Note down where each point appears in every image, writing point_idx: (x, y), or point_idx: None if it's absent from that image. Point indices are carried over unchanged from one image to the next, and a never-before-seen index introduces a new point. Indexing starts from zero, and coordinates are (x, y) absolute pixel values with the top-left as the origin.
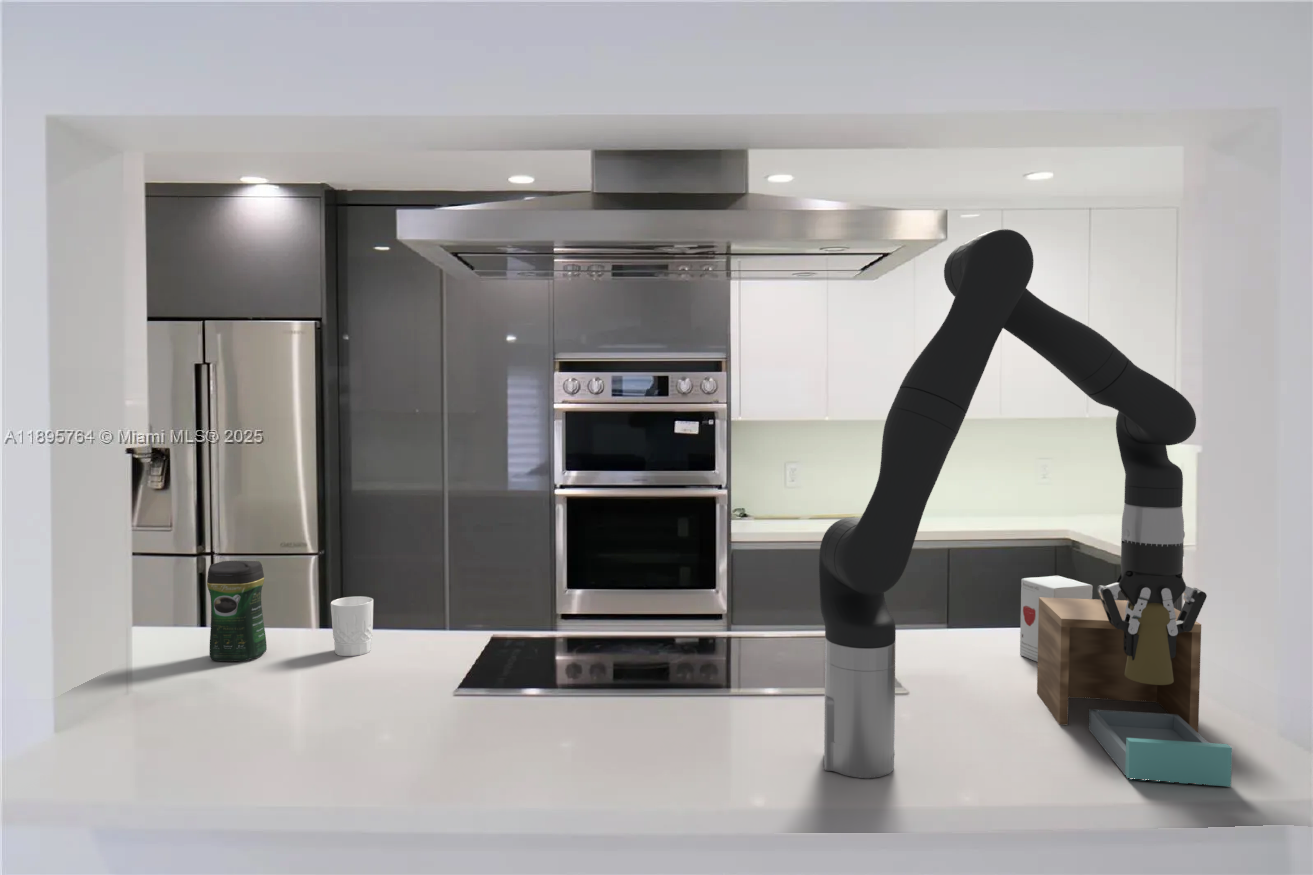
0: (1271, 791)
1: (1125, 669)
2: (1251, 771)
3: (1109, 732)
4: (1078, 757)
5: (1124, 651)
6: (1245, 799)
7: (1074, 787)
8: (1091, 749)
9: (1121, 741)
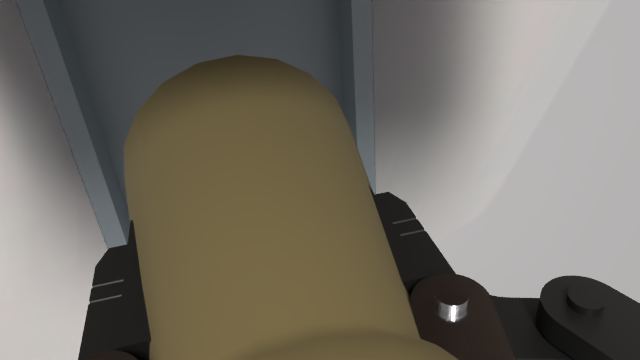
0: (436, 212)
1: (125, 167)
2: (447, 117)
3: (85, 179)
4: (3, 182)
5: (104, 261)
6: None
7: (14, 349)
8: (39, 106)
9: (122, 237)
